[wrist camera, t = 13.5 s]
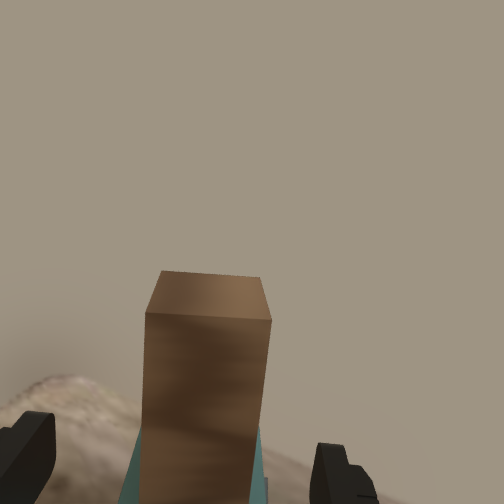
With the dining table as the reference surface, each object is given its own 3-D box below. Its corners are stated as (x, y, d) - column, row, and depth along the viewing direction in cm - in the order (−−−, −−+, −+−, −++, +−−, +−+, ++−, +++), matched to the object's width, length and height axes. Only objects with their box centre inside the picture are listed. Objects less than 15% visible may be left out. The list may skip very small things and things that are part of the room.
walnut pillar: (241, 439, 24) (259, 277, 22) (247, 514, 20) (271, 319, 17) (154, 436, 24) (161, 270, 21) (138, 514, 19) (145, 312, 16)
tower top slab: (252, 478, 27) (259, 425, 26) (259, 596, 20) (268, 532, 19) (141, 472, 26) (143, 419, 25) (110, 591, 20) (111, 526, 18)
